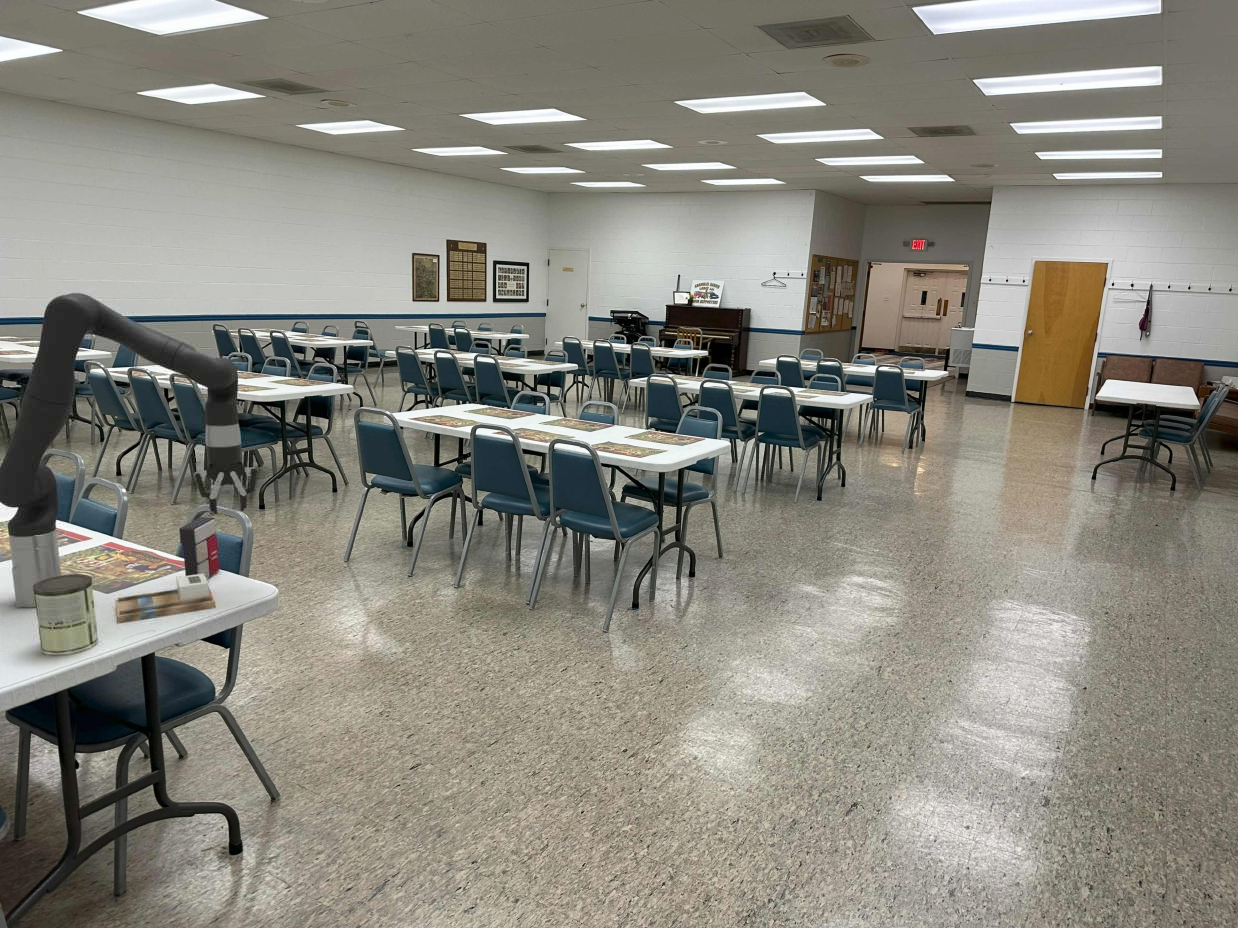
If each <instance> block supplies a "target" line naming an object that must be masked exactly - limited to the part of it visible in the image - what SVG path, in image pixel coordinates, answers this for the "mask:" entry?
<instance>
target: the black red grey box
mask: <svg viewBox="0 0 1238 928" xmlns="http://www.w3.org/2000/svg"><path fill="white" fill-rule="evenodd" d="M178 531H179V539H180V541H179V542H180V544H181V545H182V547H183V548H182V550H183V561H184V571H185V572H184V573H185V576H189V575H197V574H204V575H205V577H206V579H207V580H208V578H210V577H211V575H212V576H213V575H215V574H216V573H218V572H219V571H220V562H219V561H220V560H219V550H218V549H219V548H218V536H217V534H216V532H217V531H216V520H215V518H214V517H213V516H212V517H210V516H209V517H208V516H207V517H206V516H203V517H202V516H201V517H198V518H196V519H195V520H192V521H191V522H189V523H187V524H184V525H183V526H180V528H179V529H178ZM217 571H218V572H217ZM214 573H215V574H214Z"/></svg>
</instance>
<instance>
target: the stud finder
mask: <svg viewBox="0 0 1238 928" xmlns="http://www.w3.org/2000/svg"><path fill="white" fill-rule="evenodd" d="M208 586H209V582H208V578H207V579H206V577H205V575H204V574H197V575H189V576H186V575H183V576H178V577H176V587H177V588H176V589H177V590H178V595H179V598H180V601H186V600H192V599H199V598H205V597H209V588H210V587H209V588H208Z"/></svg>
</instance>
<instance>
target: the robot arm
mask: <svg viewBox="0 0 1238 928" xmlns="http://www.w3.org/2000/svg"><path fill="white" fill-rule="evenodd" d="M40 333H41V334H40V339H39V346H38V350H37V354H36V357H35V359H34V362H33V364H32V369H31V371H30V375H29V378H28V383H27V385H26V388H25V390H24V394H23V397H22V402H21V404H20V409H19V414H18V416H17V420H16V423H15V426H14V429H13V433H12V436H11V440H10V443H9V446H8V448H7V451H6V453H5V455H4V458H3V460H2V462H1V464H0V503H1V504H2V505H3V506H5V507H8V508H13V509H14V508H17V510H16V512H15V514H14V515H13V516H12V517H11V519H10V520H9V521H8V522H7V531H8V540H9V547H10V557H11V564H12V567H11V571H12V572H11V573H12V579H13V580H12V581H13V588H14V597H15V605H16V608H17V609H18V608H36V603H35V595H34V591H33V585H34V584H36V583H37V582H39V581H42V580H44V579H47V578H51V577H56V576H61V575H62V569H61V561H60V560H61V559H60V551H59V542H58V534H57V520H58V517H59V500H58V499H59V497H58V485H57V479H56V477H55V475H54V474H55V473H54V472H53V471H52V469H51V468H50V467H49V466H47V465H46V464H45V463H41V462H42V459H43V457H44V455H45V453H46V451H47V450H48V449H49V447H50V446H51V444H52V443H53V442H54V440H55V439H56V438H57V436H58V435H59V434H60V433H61V431H62V430H63V428H64V426H65V425H66V424H67V422H68V419H69V416H70V414H71V410H72V408H73V407H72V406H73V403H74V401H75V400H74V399H75V395H76V378H75V363H76V358H77V356H78V352H79V351H80V347H81V344H82V343H83V340H84V338H85V336H86V335H87V334H88V335H94V336H97V337H101V338H104V339H108V340H110V341H113V342H115V343H117V344H120V345H122V346H124V347H125V348H127V349H129V350H130V351H132V352H133V353H134V354H136V355H138V356H139V357H141V358H143V359H145V360H146V361H148V362H150V363H152V364H155V365H156V366H159V367H162V368H163V369H167V370H169V371H172V372H174V373H178V374H181V375H182V376H184V377H186V378H187V379H189V380H191V381H193V382H194V383H196V384H198V385H201V386H202V387H205V388H207V399H206V402H205V403H204V416H205V417H204V419H205V441H204V442H205V447H206V458H207V459H206V461H207V466H206V467H205V470H202V471H194V472H193V476H194V480H195V482H196V486H197V489H198V492H199V494H200V497H202V498H207V499H208V506H209V507H208V508H209V511H210V512H211V513H213V515H217V514H218V508H217V498H216V496H217V494H218V491H219V489H220V487H221V486H226V485H229V486H232V485H235V487H236V489H237V491H238V493H239V494H238V506H239V511H240V512H244V511H245V509H247V495H248V494H252V493H254V492H255V486H256V480H257V474H258V470H257V468H255V467H254V466H252V467H245V465H244V464H243V453H242V440H241V439H242V437H241V429H240V424H239V413H238V412H239V410H238V391H239V373H238V369H237V367H236V364H235V363H234V362H233V361H232V360H230V359H229V358H226V357H222V356H221V357H215V358H214V357H211V356H209V355H206V354H204V353H202V352H200V351H197V350H196V349H195V348H194V346H192V345H190V344H188V343H186V342H183V341H180V340H178V339H176V338H174V337H172V336H170V335H169V336H168V335H167V334H164V333H162V332H159V331H157V330H154V329H152V328H149V327H147V326H145V325H143V324H140V323H138V322H136V321H135V320H132V319H130V318H128V317H127V316H124V315H122V314H121V313H119V312H117V311H115V310H114V309H112V308H110V307H109V306H107V305H105V304H104V303H102V302H100V301H99V300H97V299H95V298H93V297H92V296H90V295H88V294H85V293H80V292H73V293H72V292H71V293H67V294H61V295H59V296H56V297H54V298H52V299H51V300H50V302H48V304H47V306H46V307H45V310H44V313H43V319H42V327H41V332H40ZM244 473H246V476H247V477H248V478H247V479H248V481H247V486H246V487H244V486H243V485H242V481H241V480H240V479H241V477H242V476H243V474H244ZM206 476H208V477H209V478H210V479H211V480H212V482H211V485H210V489H209V491H206V489H205V484H204V482H205V480H206Z"/></svg>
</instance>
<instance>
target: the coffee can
mask: <svg viewBox="0 0 1238 928" xmlns="http://www.w3.org/2000/svg"><path fill="white" fill-rule="evenodd" d="M33 591H34V595H35V603H36V607H35V610H36V618H37V626H38V634H39V640H40V651H42V652H43V653H44V655H46V654H47V655H46V656H52V655H53V656H55V657H57V656H67V655H73V654H78V653H80V652H81V653H82V652H83V651H84V652H85V651H88V650H90V649H91V648H94V647H95V646H96V645H97V644H98V643H99V638H98V637H99V635H98V627H97V619H96V618H97V617H96V612H95V611H96V610H95V609H96V608H95V601H94V600H95V599H94V593H93V577H92V576H91V575H87V574H80V573H79V574H78V573H75V574H74V573H73V574H71V573H70V574H61V576H56V577H51V578H47V579H44V580H42V581H39V582H37V583H36V584H34V585H33ZM42 652H41V653H42ZM43 653H42V654H43ZM53 656H52V657H53Z"/></svg>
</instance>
